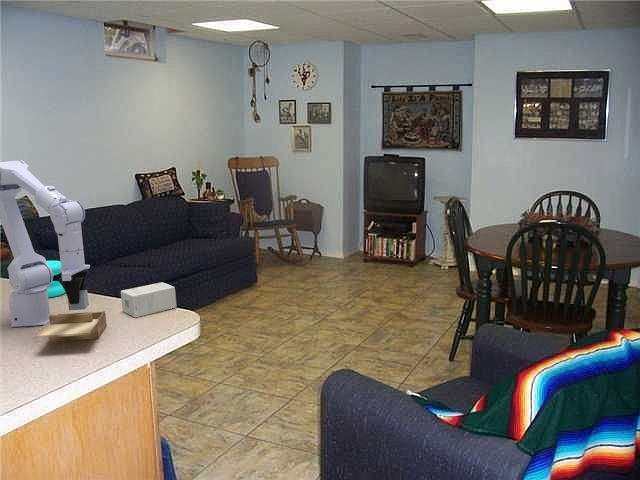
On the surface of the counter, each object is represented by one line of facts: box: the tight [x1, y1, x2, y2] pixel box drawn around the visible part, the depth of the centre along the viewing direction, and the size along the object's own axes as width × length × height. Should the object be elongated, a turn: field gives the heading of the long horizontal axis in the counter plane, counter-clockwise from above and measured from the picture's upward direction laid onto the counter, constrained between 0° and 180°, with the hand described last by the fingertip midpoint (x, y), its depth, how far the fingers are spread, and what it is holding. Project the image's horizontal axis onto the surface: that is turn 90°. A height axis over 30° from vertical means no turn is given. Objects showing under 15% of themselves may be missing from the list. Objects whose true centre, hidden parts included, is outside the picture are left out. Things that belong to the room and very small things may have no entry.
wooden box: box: [48, 311, 107, 342], centre depth 173 cm, size 12×10×4 cm
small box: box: [120, 281, 177, 318], centre depth 191 cm, size 8×6×13 cm
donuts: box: [46, 260, 66, 299], centre depth 209 cm, size 10×10×10 cm
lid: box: [34, 312, 99, 339], centre depth 163 cm, size 12×10×2 cm
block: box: [67, 289, 90, 311], centre depth 172 cm, size 4×4×4 cm
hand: (76, 301), depth 172 cm, fingers closed on block, 4 cm apart
